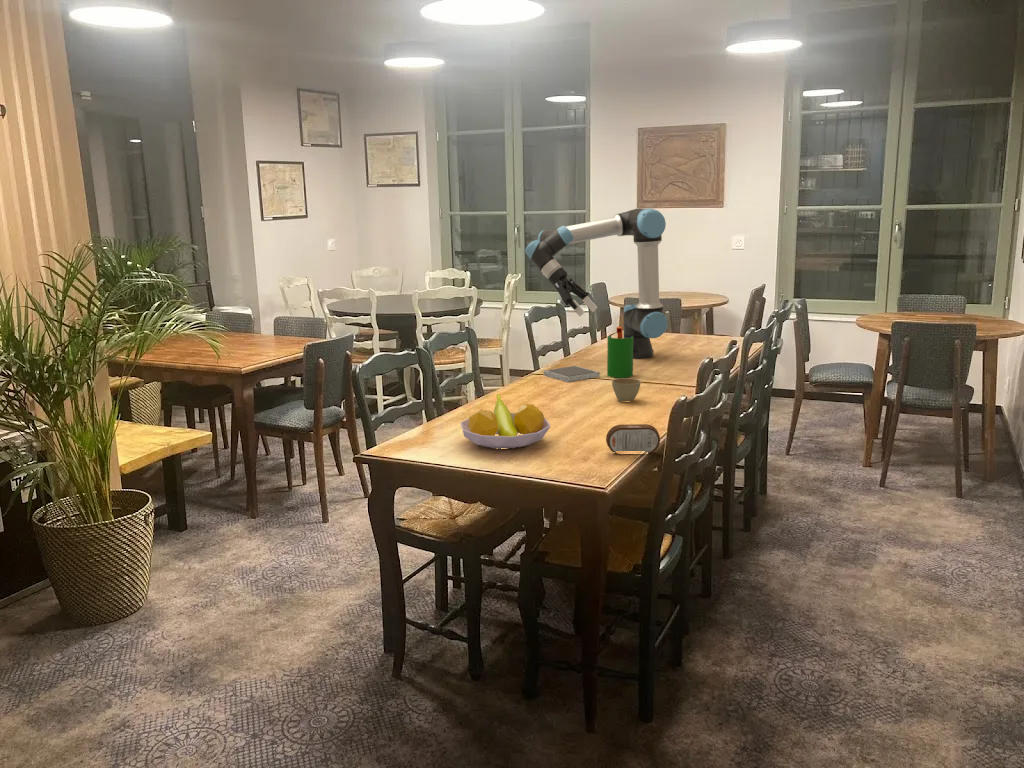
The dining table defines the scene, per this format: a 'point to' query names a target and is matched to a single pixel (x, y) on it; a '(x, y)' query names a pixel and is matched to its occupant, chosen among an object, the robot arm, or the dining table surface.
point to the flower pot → (626, 388)
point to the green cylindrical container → (620, 356)
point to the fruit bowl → (506, 426)
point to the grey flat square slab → (571, 373)
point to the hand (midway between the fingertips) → (588, 312)
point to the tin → (633, 438)
